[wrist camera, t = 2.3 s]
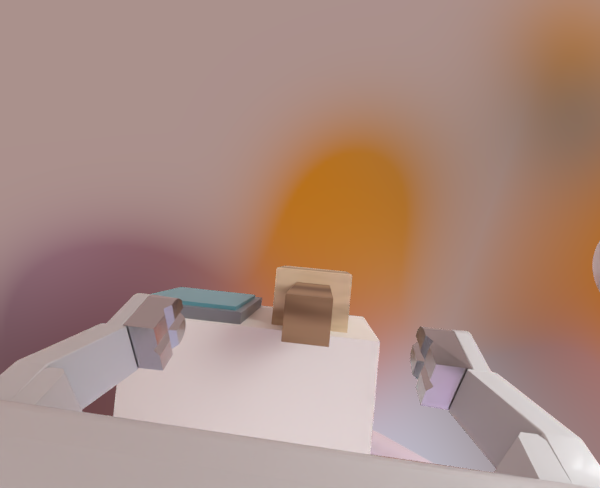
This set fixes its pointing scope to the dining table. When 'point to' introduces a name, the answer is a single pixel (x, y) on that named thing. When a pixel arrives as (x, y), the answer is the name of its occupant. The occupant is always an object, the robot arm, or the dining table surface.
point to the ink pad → (214, 304)
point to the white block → (262, 384)
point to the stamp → (311, 304)
